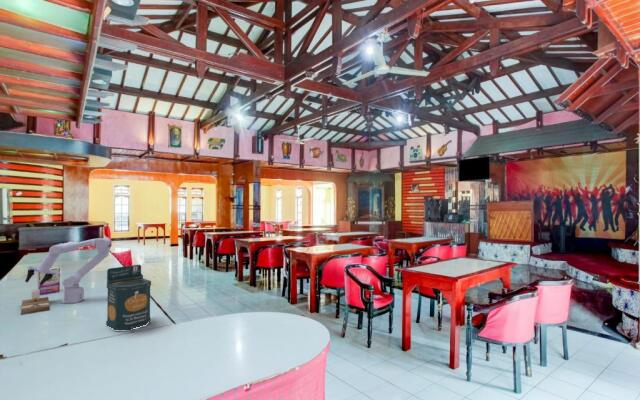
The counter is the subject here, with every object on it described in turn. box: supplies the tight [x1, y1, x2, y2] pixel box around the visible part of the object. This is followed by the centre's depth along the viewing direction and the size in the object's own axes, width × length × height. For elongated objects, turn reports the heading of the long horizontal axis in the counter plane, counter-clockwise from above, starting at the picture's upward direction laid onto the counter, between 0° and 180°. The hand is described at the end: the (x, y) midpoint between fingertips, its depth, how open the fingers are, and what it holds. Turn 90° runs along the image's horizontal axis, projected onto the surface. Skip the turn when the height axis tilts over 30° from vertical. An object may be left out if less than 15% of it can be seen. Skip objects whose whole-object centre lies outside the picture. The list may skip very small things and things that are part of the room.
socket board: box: [20, 296, 51, 316], centre depth 194 cm, size 24×12×2 cm, turn 41°
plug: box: [31, 289, 41, 302], centre depth 198 cm, size 4×4×6 cm
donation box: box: [105, 264, 152, 331], centre depth 166 cm, size 16×16×28 cm
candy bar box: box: [37, 267, 61, 296], centre depth 226 cm, size 11×5×16 cm, turn 143°
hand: (33, 283), depth 200 cm, fingers open, 7 cm apart
